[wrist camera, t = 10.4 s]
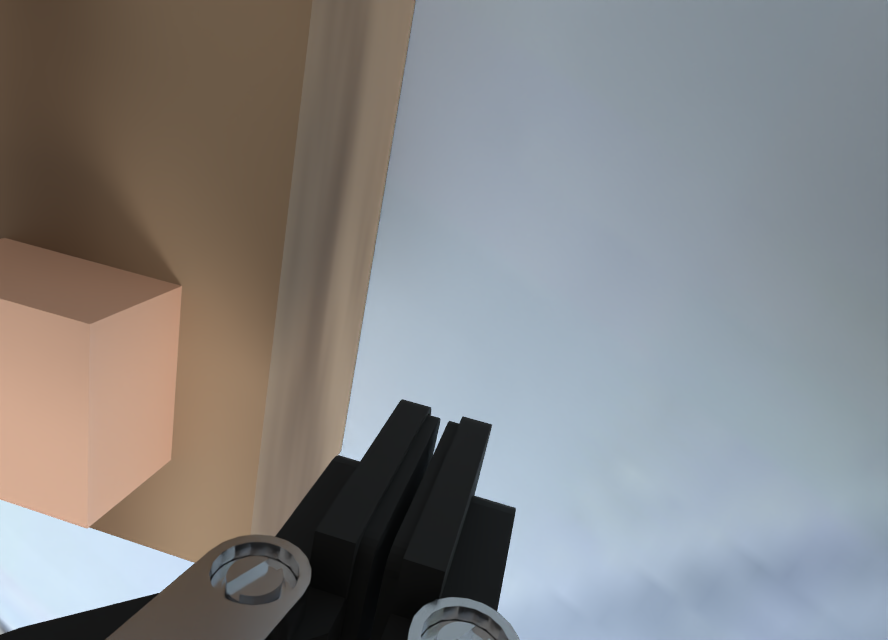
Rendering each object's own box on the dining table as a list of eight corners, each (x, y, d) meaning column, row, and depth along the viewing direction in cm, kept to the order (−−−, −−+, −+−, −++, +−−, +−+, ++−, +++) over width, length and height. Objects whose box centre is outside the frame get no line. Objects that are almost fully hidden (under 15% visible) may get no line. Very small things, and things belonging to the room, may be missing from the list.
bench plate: (457, -255, 14) (370, -497, 9) (341, 450, 20) (245, 579, 15) (55, -309, 16) (-245, -547, 10) (59, 366, 22) (-128, 454, 16)
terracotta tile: (182, 285, 13) (89, 324, 10) (171, 460, 14) (87, 528, 12) (5, 238, 13) (-121, 263, 11) (10, 409, 15) (-100, 465, 12)
